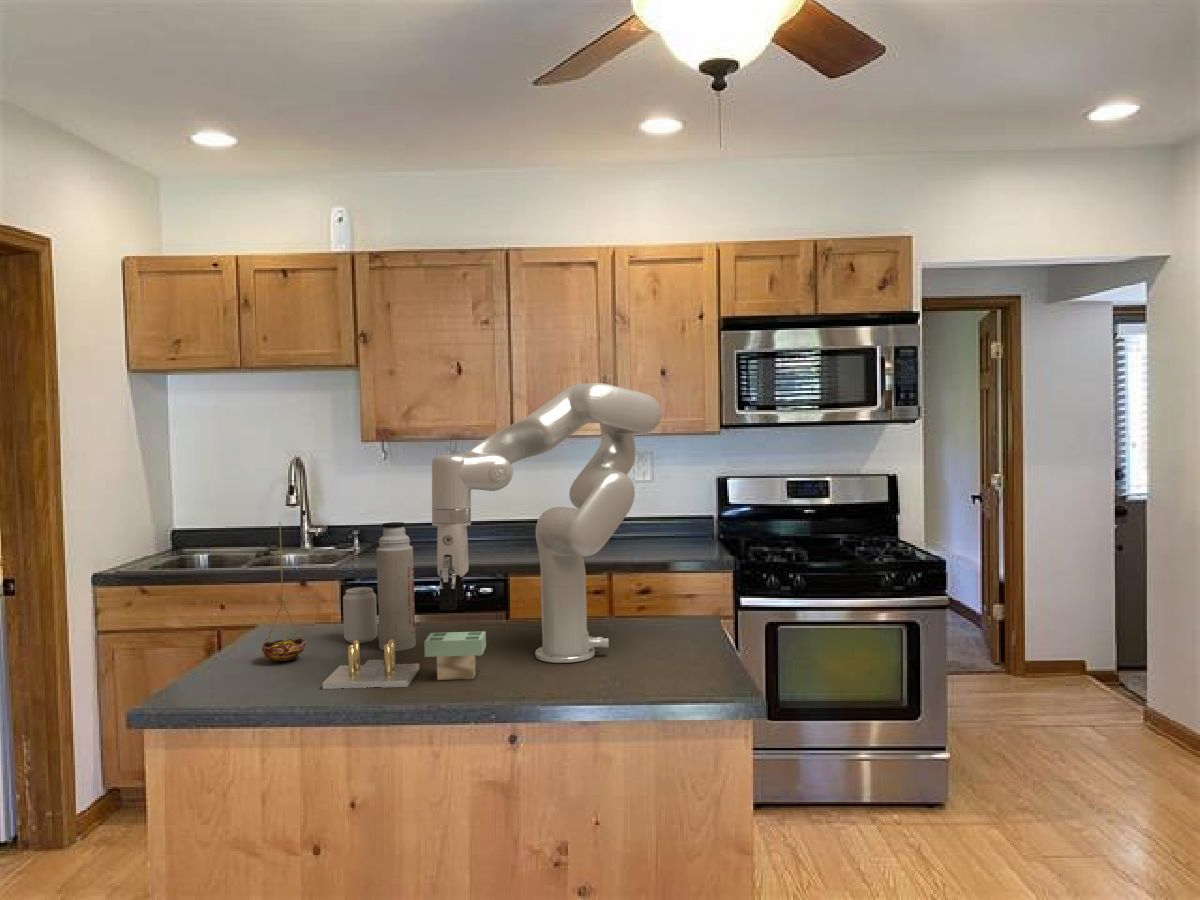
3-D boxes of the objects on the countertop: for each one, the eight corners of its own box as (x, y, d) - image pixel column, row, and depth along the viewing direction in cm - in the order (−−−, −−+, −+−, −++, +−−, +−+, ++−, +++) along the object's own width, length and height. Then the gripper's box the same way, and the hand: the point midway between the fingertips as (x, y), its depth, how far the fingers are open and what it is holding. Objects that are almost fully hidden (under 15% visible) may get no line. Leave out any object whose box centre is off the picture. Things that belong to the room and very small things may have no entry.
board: (486, 646, 179) (485, 631, 179) (482, 655, 172) (481, 639, 172) (431, 647, 179) (430, 632, 179) (424, 656, 172) (424, 641, 172)
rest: (475, 673, 177) (475, 648, 177) (473, 678, 174) (472, 653, 174) (440, 674, 177) (439, 649, 177) (437, 679, 174) (436, 654, 173)
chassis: (419, 669, 181) (418, 633, 181) (407, 686, 169) (406, 648, 169) (340, 671, 181) (339, 635, 181) (322, 689, 169) (321, 650, 169)
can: (384, 638, 209) (382, 587, 208) (359, 645, 202) (358, 593, 202) (361, 635, 213) (360, 585, 212) (337, 641, 206) (335, 590, 206)
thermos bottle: (421, 642, 204) (417, 520, 203) (406, 651, 196) (403, 524, 195) (388, 641, 205) (385, 520, 205) (373, 650, 198) (369, 524, 197)
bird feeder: (313, 660, 191) (309, 520, 190) (274, 669, 184) (269, 524, 183) (293, 653, 197) (289, 517, 196) (254, 662, 190) (249, 521, 189)
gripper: (464, 521, 166) (465, 613, 166) (476, 513, 183) (476, 596, 183) (424, 521, 166) (424, 613, 166) (439, 513, 183) (440, 596, 183)
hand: (451, 604), depth 175 cm, fingers open, 9 cm apart
